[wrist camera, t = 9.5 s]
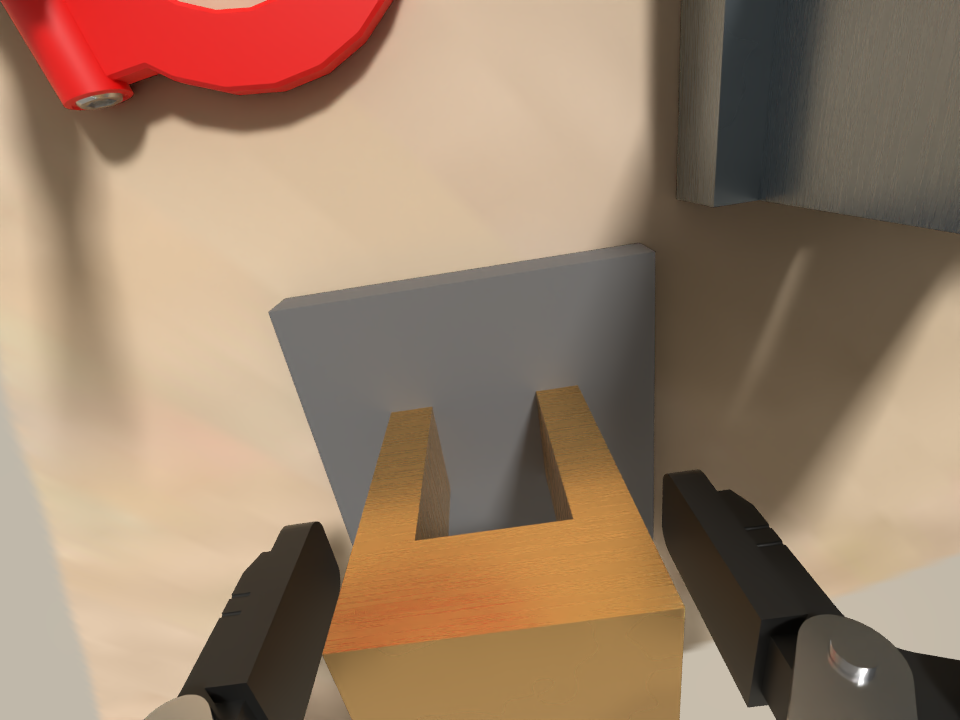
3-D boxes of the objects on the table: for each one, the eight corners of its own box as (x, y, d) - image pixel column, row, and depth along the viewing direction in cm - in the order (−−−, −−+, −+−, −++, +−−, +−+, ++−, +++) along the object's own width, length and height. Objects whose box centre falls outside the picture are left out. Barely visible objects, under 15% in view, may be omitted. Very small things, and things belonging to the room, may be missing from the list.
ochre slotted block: (577, 385, 13) (685, 607, 7) (583, 469, 14) (678, 726, 8) (391, 412, 13) (322, 654, 7) (412, 493, 14) (371, 762, 8)
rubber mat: (639, 242, 13) (655, 251, 12) (641, 518, 17) (653, 543, 16) (285, 298, 13) (268, 312, 12) (372, 555, 17) (365, 582, 16)
